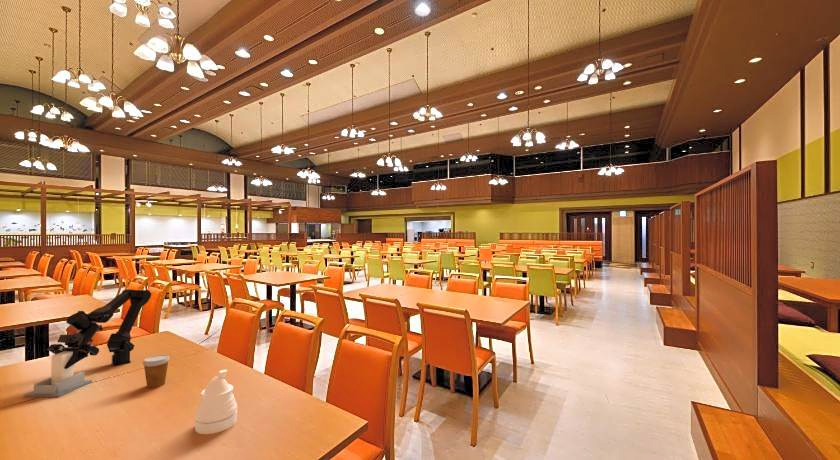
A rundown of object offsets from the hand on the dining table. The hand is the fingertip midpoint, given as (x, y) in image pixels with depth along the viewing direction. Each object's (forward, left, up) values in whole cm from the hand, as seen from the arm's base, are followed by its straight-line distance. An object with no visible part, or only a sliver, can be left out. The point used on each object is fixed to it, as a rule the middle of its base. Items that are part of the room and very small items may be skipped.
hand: (59, 368), depth 146 cm
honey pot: (-34, +79, -9) cm, 87 cm away
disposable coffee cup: (-28, +25, -9) cm, 39 cm away
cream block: (-1, -1, -7) cm, 7 cm away
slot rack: (0, 0, -9) cm, 9 cm away
